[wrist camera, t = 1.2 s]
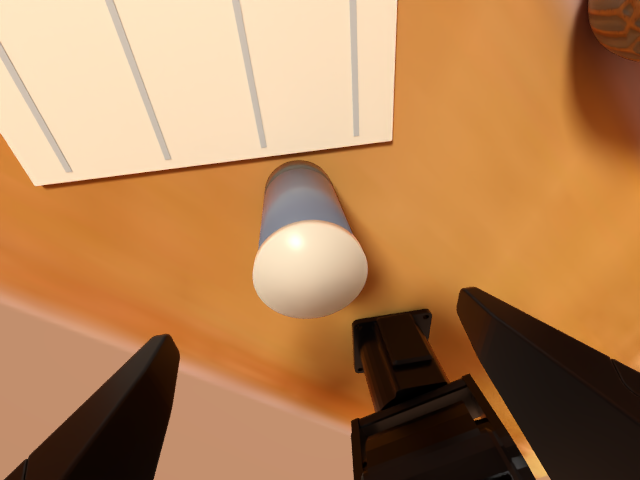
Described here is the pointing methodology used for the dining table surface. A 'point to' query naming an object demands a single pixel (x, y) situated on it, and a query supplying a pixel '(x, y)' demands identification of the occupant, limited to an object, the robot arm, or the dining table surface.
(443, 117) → the dining table surface
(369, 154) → the dining table surface
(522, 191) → the dining table surface
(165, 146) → the paper
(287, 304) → the grey capped bottle
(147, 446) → the robot arm
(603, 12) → the vase
